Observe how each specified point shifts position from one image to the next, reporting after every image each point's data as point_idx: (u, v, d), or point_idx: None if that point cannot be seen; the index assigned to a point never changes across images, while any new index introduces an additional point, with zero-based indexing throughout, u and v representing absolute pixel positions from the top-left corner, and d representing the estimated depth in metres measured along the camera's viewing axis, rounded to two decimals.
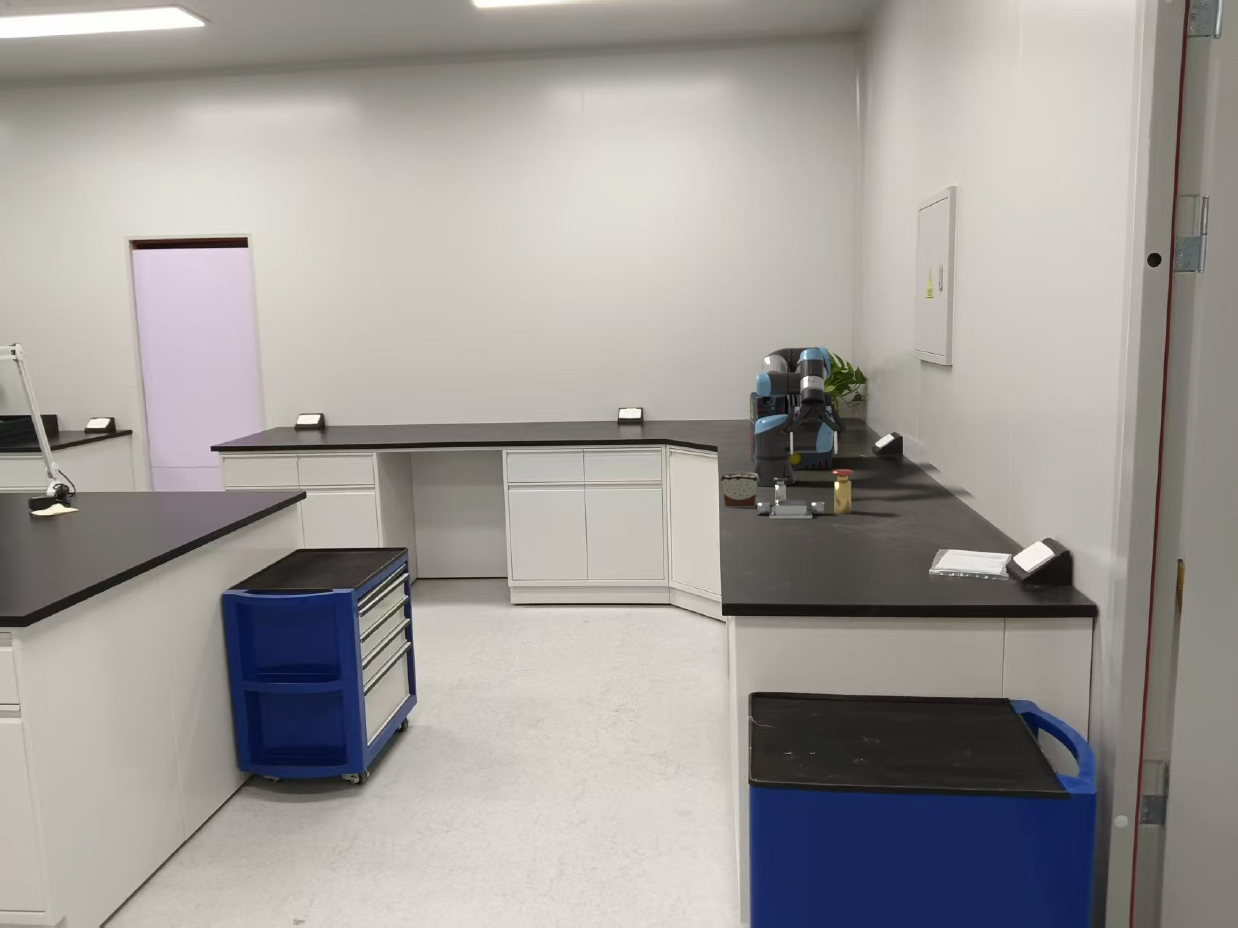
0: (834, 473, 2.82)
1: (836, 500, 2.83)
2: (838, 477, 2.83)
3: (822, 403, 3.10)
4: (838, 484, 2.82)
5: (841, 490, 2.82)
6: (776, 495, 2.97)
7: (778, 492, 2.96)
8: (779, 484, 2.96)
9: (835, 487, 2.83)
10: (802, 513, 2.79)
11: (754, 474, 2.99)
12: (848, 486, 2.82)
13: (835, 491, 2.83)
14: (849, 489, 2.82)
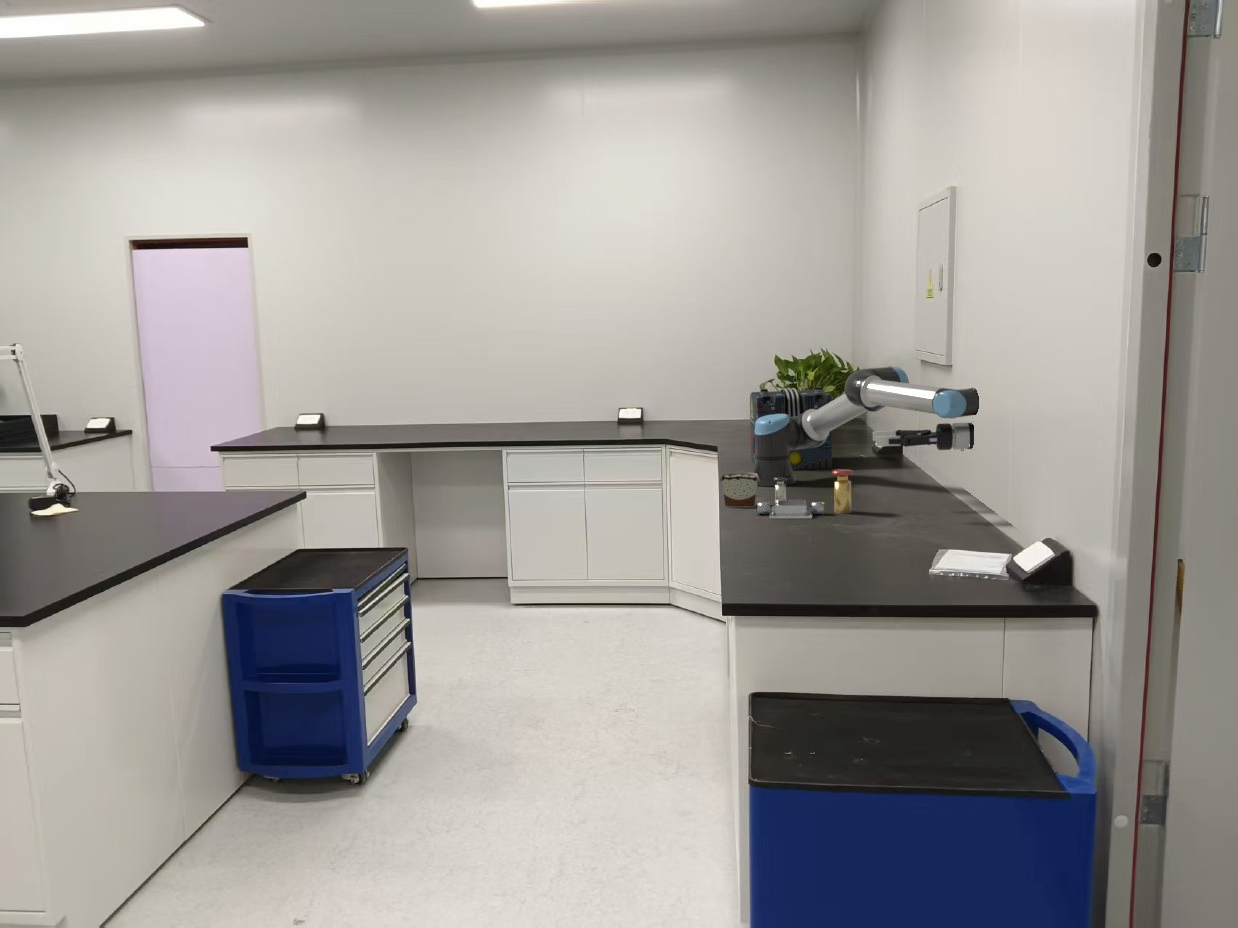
0: (834, 473, 2.82)
1: (836, 500, 2.83)
2: (838, 477, 2.83)
3: None
4: (838, 484, 2.82)
5: (841, 490, 2.82)
6: (776, 495, 2.97)
7: (778, 492, 2.96)
8: (779, 484, 2.96)
9: (835, 487, 2.83)
10: (802, 513, 2.79)
11: (754, 474, 2.99)
12: (848, 486, 2.82)
13: (835, 491, 2.83)
14: (849, 489, 2.82)
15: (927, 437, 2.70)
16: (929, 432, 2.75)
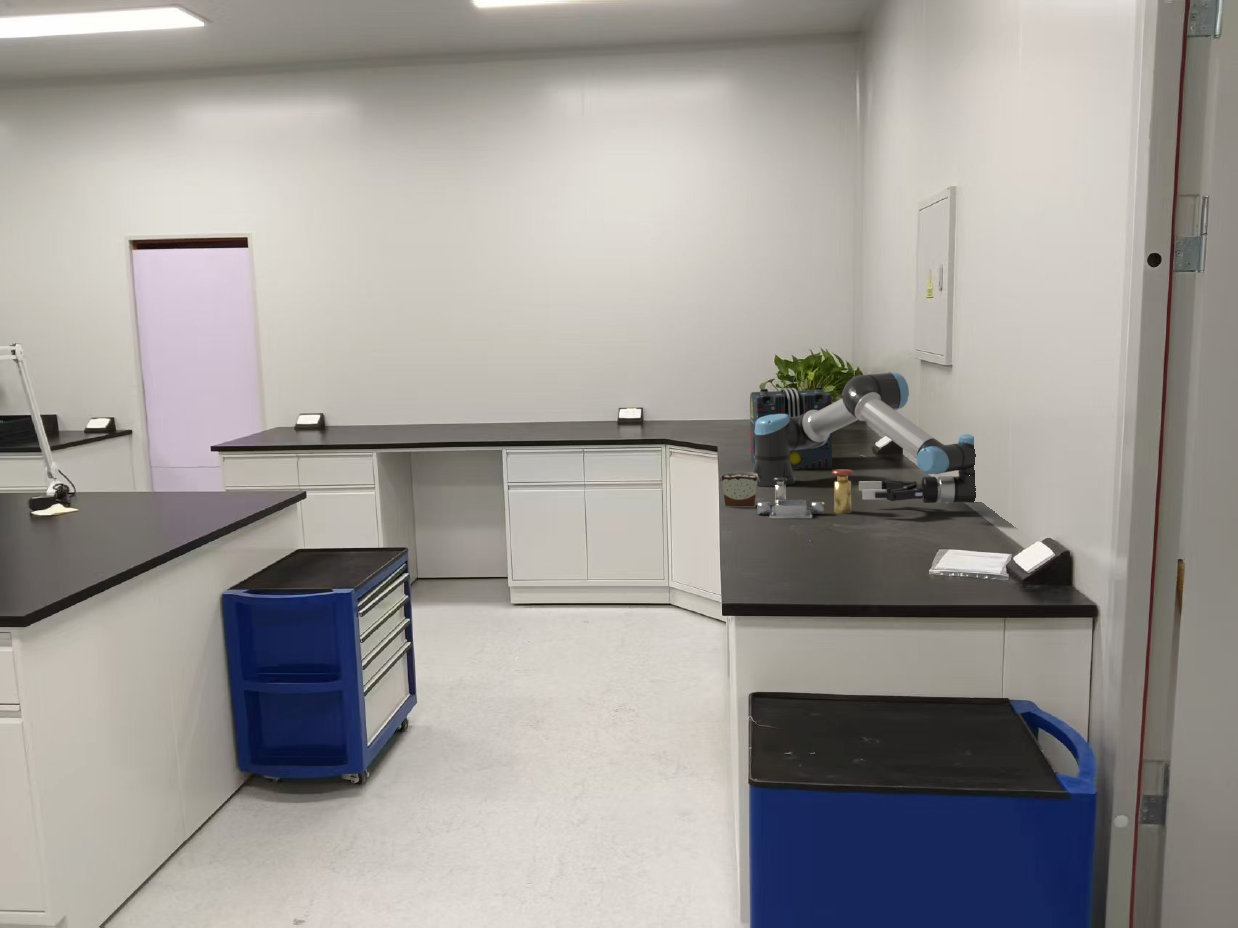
0: (834, 473, 2.82)
1: (836, 500, 2.83)
2: (838, 477, 2.83)
3: None
4: (838, 484, 2.82)
5: (841, 490, 2.82)
6: (776, 495, 2.97)
7: (778, 492, 2.96)
8: (779, 484, 2.96)
9: (835, 487, 2.83)
10: (802, 513, 2.79)
11: (754, 474, 2.99)
12: (848, 486, 2.82)
13: (835, 491, 2.83)
14: (849, 489, 2.82)
15: (913, 491, 2.73)
16: (915, 485, 2.78)
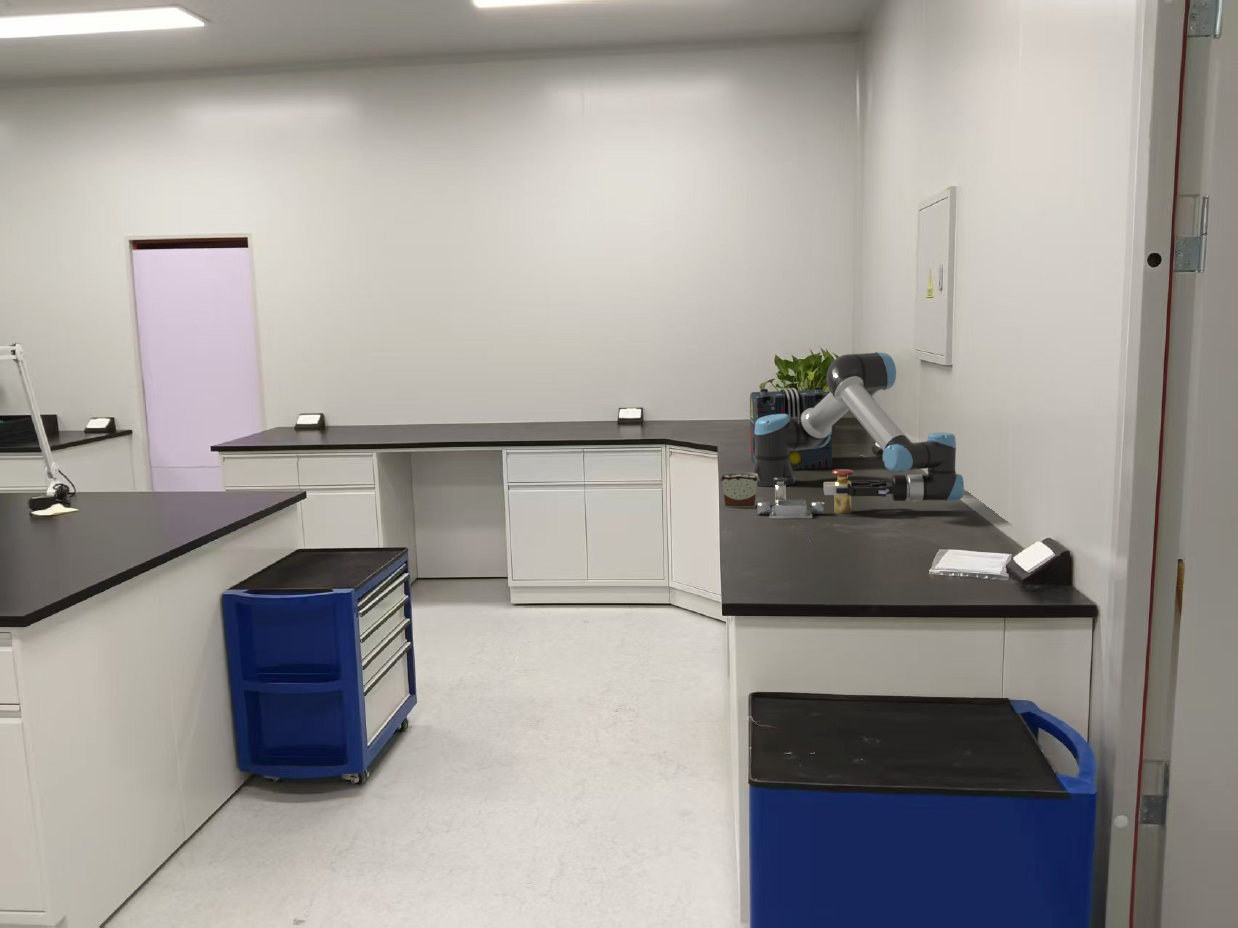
0: (834, 473, 2.82)
1: (836, 500, 2.83)
2: (838, 477, 2.83)
3: None
4: (838, 484, 2.82)
5: None
6: (776, 495, 2.97)
7: (778, 492, 2.96)
8: (779, 484, 2.96)
9: None
10: (802, 513, 2.79)
11: (754, 474, 2.99)
12: None
13: None
14: None
15: (875, 489, 2.76)
16: (884, 483, 2.80)
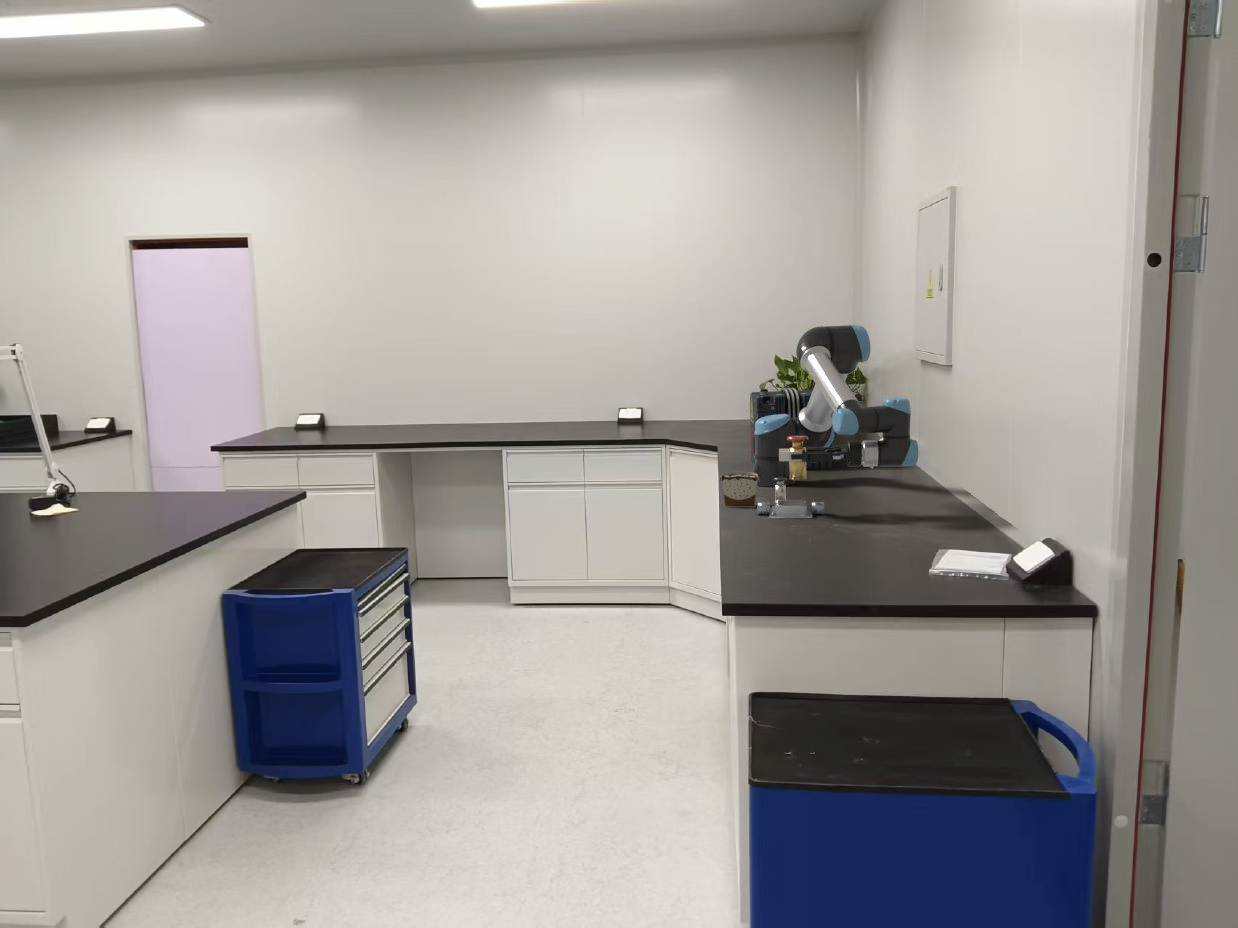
0: (789, 439, 2.79)
1: (791, 466, 2.81)
2: (793, 443, 2.80)
3: None
4: (793, 450, 2.80)
5: None
6: (776, 495, 2.97)
7: (778, 492, 2.96)
8: (779, 484, 2.96)
9: None
10: (802, 513, 2.79)
11: (754, 474, 2.99)
12: None
13: None
14: None
15: (830, 454, 2.74)
16: (839, 449, 2.78)
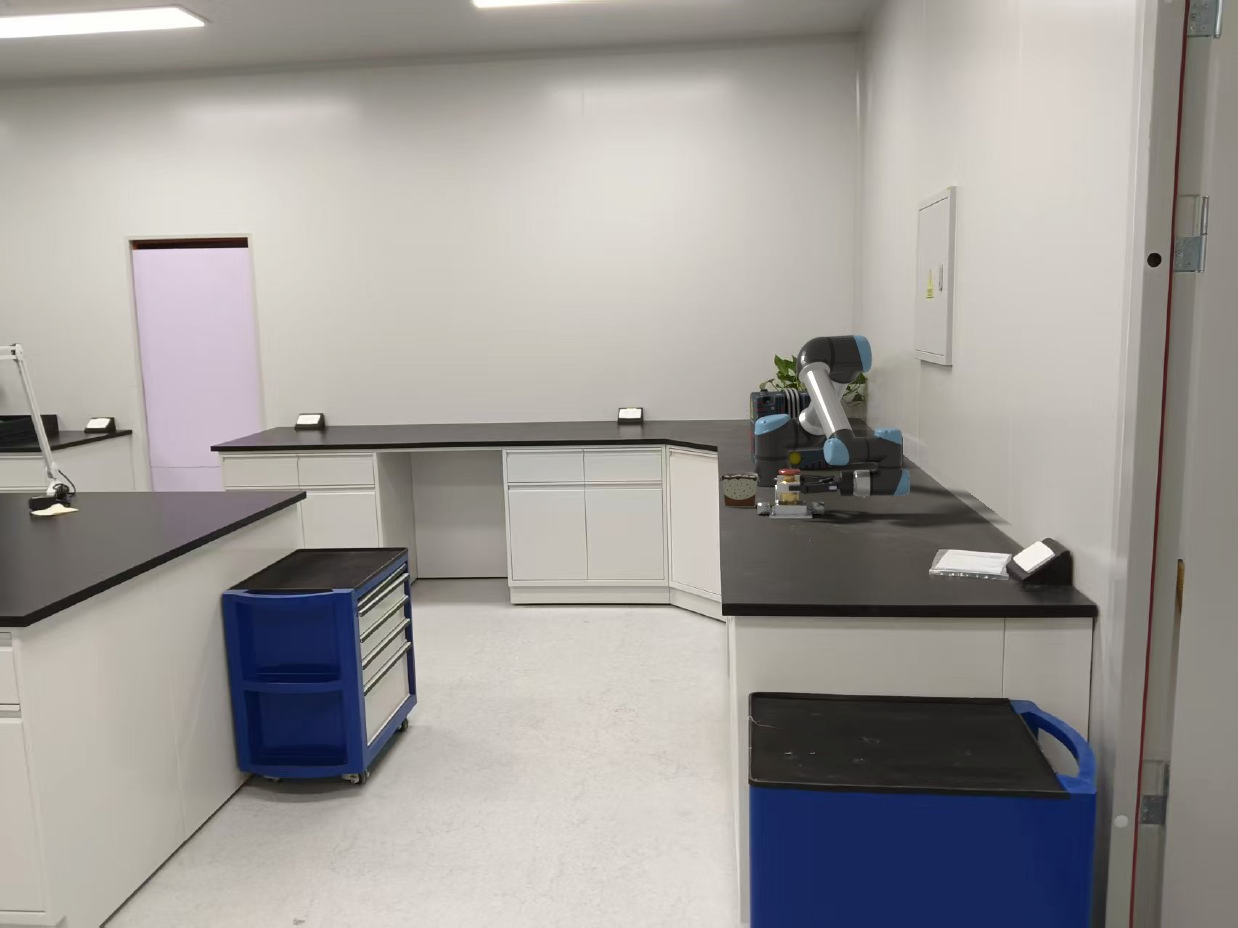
0: (781, 472, 2.81)
1: (783, 499, 2.83)
2: (785, 476, 2.82)
3: None
4: None
5: None
6: (776, 495, 2.97)
7: None
8: None
9: None
10: (802, 513, 2.79)
11: (754, 474, 2.99)
12: None
13: None
14: None
15: (826, 485, 2.74)
16: (831, 479, 2.79)
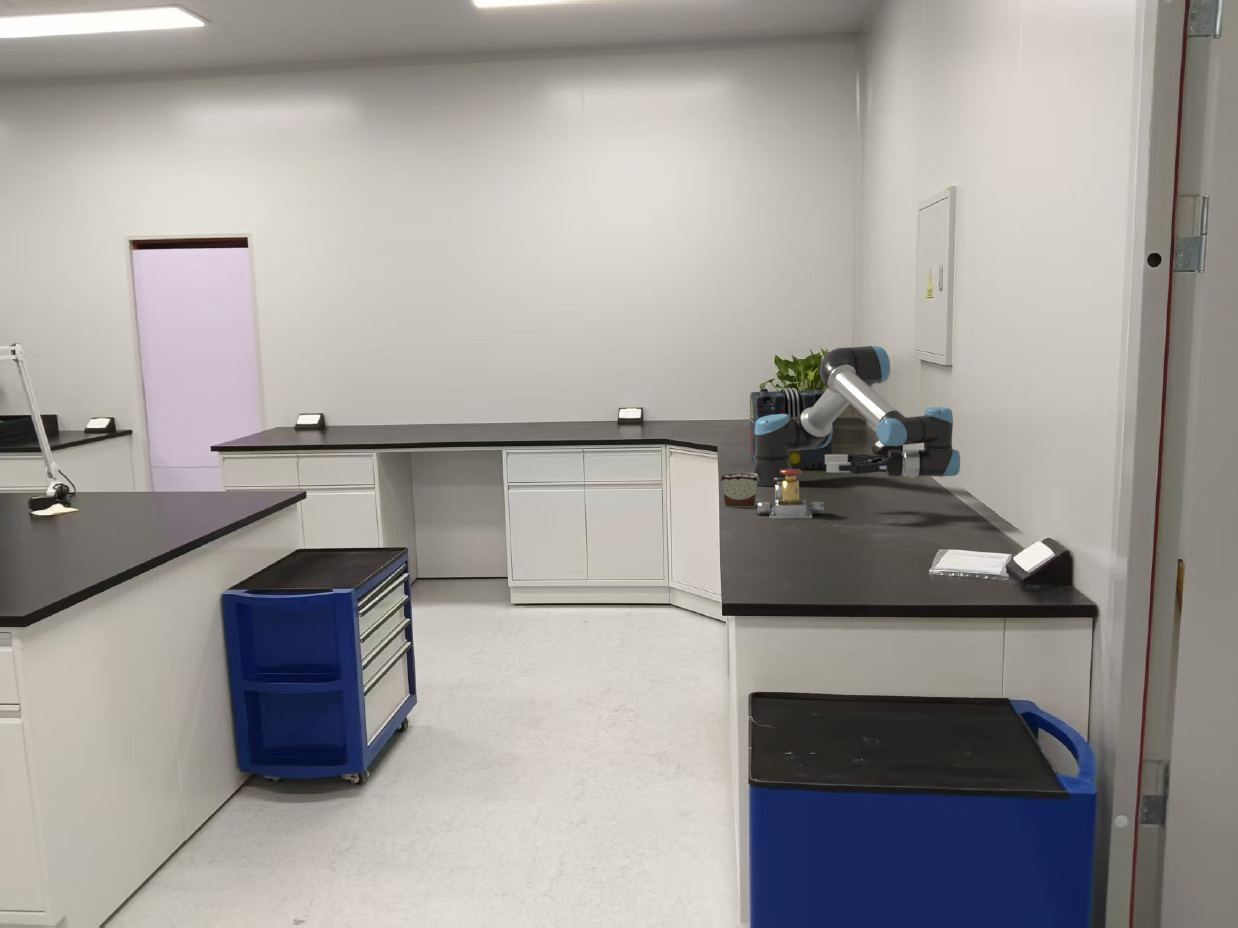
0: (782, 472, 2.81)
1: (784, 499, 2.83)
2: (786, 476, 2.82)
3: None
4: (786, 483, 2.81)
5: (788, 489, 2.81)
6: (776, 495, 2.97)
7: (778, 492, 2.96)
8: (779, 484, 2.96)
9: (783, 486, 2.83)
10: (802, 513, 2.79)
11: (754, 474, 2.99)
12: (796, 485, 2.81)
13: (783, 490, 2.83)
14: (797, 488, 2.82)
15: (877, 465, 2.70)
16: (880, 459, 2.75)
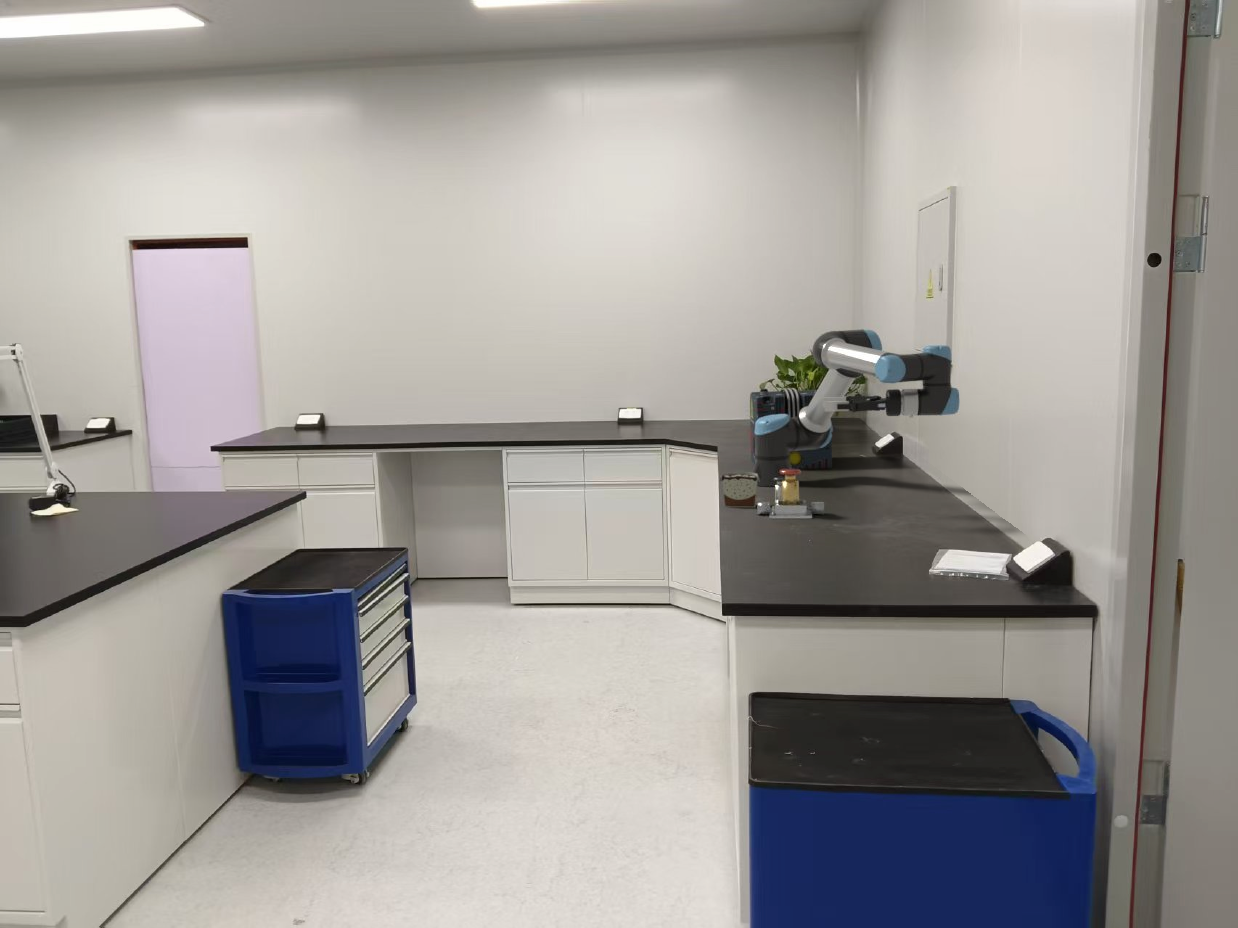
0: (781, 472, 2.81)
1: (784, 499, 2.83)
2: (786, 476, 2.82)
3: None
4: (785, 483, 2.81)
5: (788, 489, 2.81)
6: (776, 495, 2.97)
7: (778, 492, 2.96)
8: (779, 484, 2.96)
9: (783, 486, 2.83)
10: (802, 513, 2.79)
11: (754, 474, 2.99)
12: (795, 485, 2.81)
13: (783, 490, 2.83)
14: (797, 488, 2.82)
15: (875, 402, 2.69)
16: (878, 398, 2.73)
